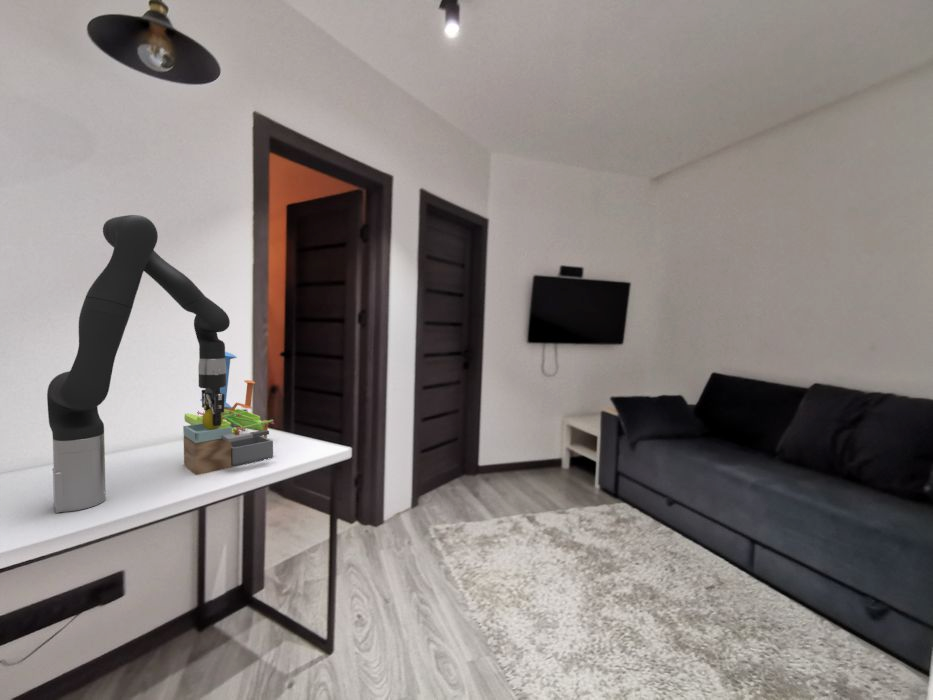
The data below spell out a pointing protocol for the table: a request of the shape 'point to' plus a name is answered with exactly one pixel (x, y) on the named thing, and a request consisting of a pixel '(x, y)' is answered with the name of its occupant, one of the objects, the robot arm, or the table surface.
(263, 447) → the bin
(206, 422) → the lemon
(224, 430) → the tray
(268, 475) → the table surface
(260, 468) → the table surface
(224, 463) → the pedestal
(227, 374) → the catamaran
